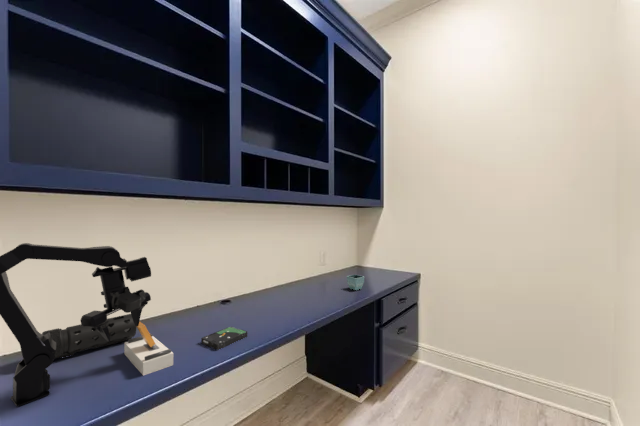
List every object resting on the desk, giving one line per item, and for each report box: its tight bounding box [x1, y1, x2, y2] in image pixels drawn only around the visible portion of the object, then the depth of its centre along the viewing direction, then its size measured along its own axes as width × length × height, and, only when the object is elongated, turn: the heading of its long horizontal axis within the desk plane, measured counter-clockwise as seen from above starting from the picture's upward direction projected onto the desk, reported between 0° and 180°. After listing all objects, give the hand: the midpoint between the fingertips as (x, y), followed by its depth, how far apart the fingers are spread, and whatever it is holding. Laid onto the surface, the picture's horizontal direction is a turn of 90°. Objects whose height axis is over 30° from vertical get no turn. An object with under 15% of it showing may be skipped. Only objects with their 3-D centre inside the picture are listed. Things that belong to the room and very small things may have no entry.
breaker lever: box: [136, 321, 156, 349], centre depth 102 cm, size 2×6×9 cm, turn 47°
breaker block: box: [123, 333, 174, 376], centre depth 102 cm, size 9×20×5 cm, turn 47°
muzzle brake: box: [41, 313, 137, 359], centre depth 108 cm, size 10×28×10 cm, turn 139°
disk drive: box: [200, 326, 248, 351], centre depth 119 cm, size 10×3×15 cm
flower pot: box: [346, 274, 365, 291], centre depth 200 cm, size 9×9×9 cm
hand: (123, 333), depth 95 cm, fingers open, 9 cm apart
